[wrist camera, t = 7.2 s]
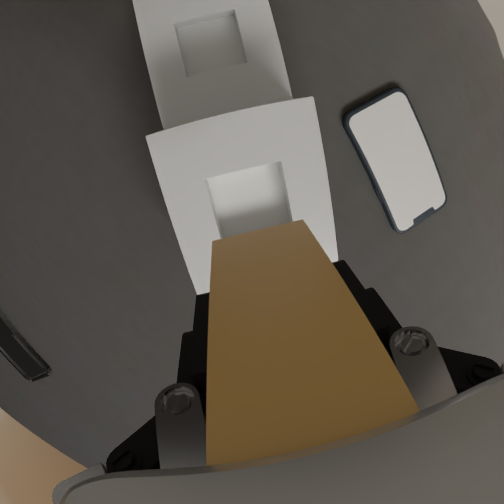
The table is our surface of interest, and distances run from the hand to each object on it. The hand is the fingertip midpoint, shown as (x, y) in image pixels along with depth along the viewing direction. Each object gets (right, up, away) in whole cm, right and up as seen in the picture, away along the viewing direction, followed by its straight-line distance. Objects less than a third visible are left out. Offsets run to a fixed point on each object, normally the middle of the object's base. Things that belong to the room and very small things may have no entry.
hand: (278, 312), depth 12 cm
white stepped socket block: (-3, +16, +18) cm, 24 cm away
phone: (-40, -13, +29) cm, 51 cm away
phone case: (+16, +13, +22) cm, 30 cm away
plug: (0, +1, +3) cm, 3 cm away
